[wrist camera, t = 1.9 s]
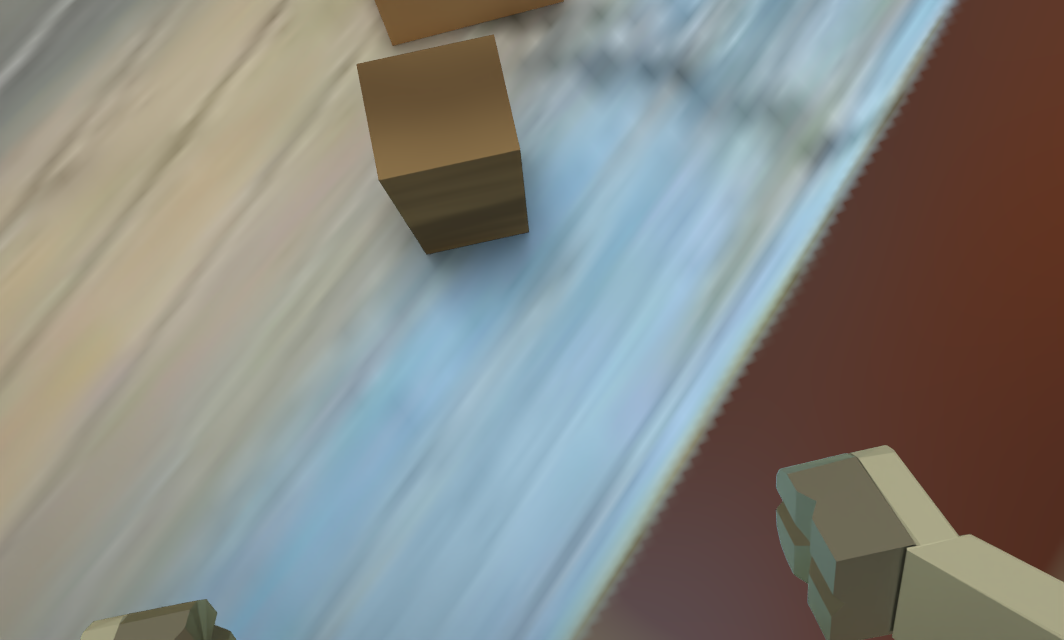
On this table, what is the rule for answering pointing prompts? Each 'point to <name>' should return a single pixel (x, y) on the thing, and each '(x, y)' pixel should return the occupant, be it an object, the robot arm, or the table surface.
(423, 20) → the light tan block
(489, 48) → the walnut block
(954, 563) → the robot arm
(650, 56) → the table surface
